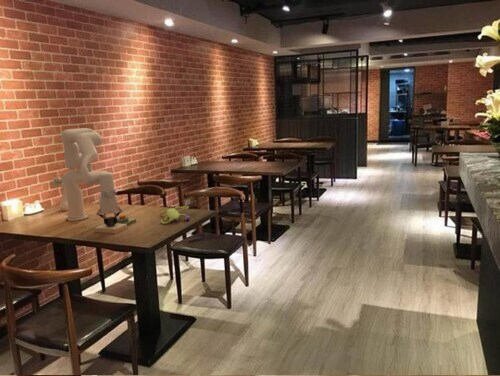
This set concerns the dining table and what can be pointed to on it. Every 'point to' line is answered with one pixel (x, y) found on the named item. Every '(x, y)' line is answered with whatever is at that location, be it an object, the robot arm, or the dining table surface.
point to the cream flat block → (111, 228)
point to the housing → (125, 221)
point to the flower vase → (64, 202)
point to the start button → (122, 217)
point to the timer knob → (110, 221)
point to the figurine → (174, 214)
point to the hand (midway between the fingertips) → (110, 224)
